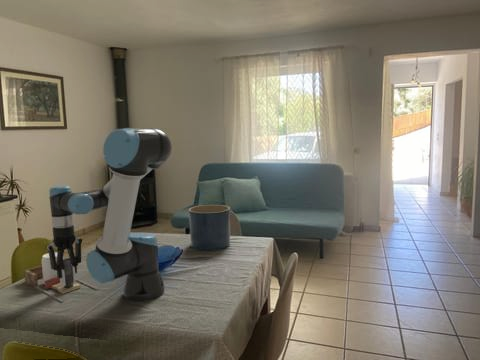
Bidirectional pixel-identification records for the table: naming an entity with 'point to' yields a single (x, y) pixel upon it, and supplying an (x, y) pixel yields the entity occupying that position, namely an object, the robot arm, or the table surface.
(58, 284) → the rod slider
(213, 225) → the planter
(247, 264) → the table surface
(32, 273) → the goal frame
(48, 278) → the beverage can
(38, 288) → the pitch lines
